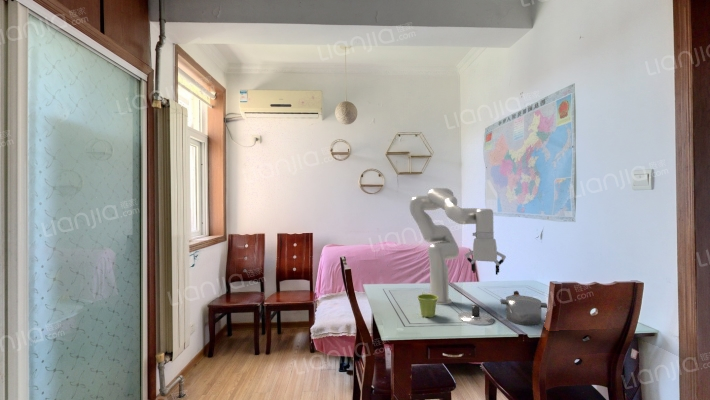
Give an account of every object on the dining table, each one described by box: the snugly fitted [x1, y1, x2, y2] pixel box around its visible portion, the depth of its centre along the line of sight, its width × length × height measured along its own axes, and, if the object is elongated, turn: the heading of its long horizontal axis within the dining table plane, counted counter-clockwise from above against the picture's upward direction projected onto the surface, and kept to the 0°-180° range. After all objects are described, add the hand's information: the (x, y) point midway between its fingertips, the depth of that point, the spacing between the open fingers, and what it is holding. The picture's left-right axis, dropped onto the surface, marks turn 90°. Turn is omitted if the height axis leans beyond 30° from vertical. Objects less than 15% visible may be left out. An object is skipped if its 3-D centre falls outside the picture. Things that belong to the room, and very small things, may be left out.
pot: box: [500, 294, 548, 327], centre depth 146 cm, size 18×14×9 cm
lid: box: [457, 304, 495, 326], centre depth 148 cm, size 15×15×6 cm
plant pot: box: [417, 293, 438, 318], centre depth 154 cm, size 9×9×9 cm
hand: (485, 273), depth 150 cm, fingers open, 9 cm apart
